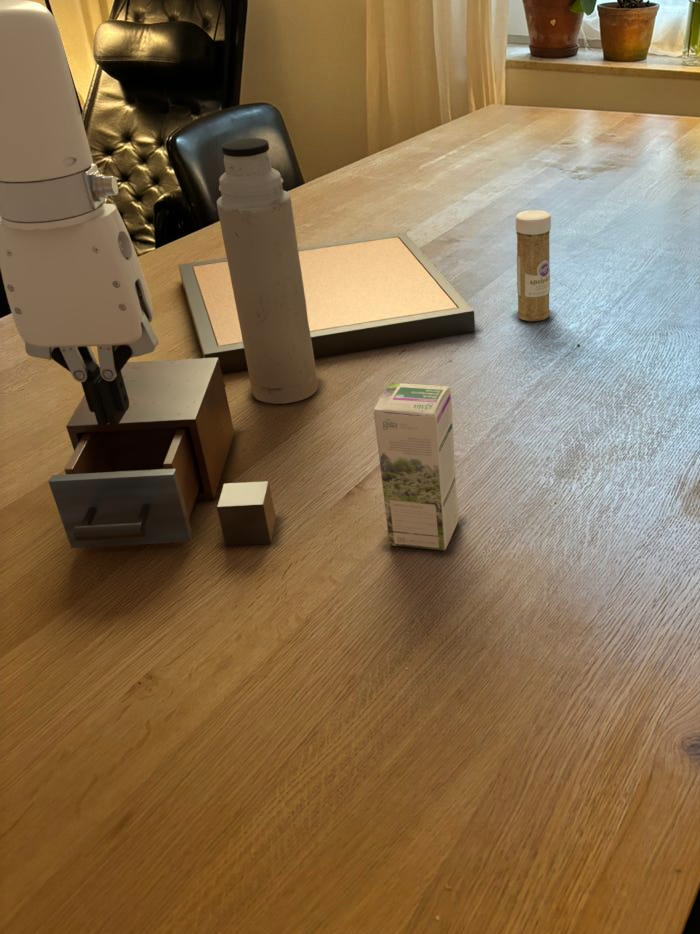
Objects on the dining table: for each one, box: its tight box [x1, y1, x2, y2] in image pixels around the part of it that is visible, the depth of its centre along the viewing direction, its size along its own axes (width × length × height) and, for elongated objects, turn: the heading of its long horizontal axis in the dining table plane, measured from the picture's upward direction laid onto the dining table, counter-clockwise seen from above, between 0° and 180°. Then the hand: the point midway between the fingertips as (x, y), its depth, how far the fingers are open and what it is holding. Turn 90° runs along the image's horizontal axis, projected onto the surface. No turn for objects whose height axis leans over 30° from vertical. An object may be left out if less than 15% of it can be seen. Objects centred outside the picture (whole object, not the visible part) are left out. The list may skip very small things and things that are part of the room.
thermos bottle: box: [216, 137, 319, 405], centre depth 117 cm, size 8×8×28 cm
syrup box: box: [373, 382, 460, 551], centre depth 95 cm, size 6×6×14 cm
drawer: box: [48, 427, 202, 549], centre depth 99 cm, size 18×11×7 cm, turn 2°
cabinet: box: [65, 357, 235, 501], centre depth 108 cm, size 15×13×9 cm
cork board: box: [177, 232, 476, 375], centre depth 145 cm, size 36×3×35 cm
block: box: [216, 480, 277, 547], centre depth 99 cm, size 4×4×4 cm
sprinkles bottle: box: [515, 209, 552, 322], centre depth 136 cm, size 5×5×13 cm
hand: (113, 417), depth 88 cm, fingers closed
